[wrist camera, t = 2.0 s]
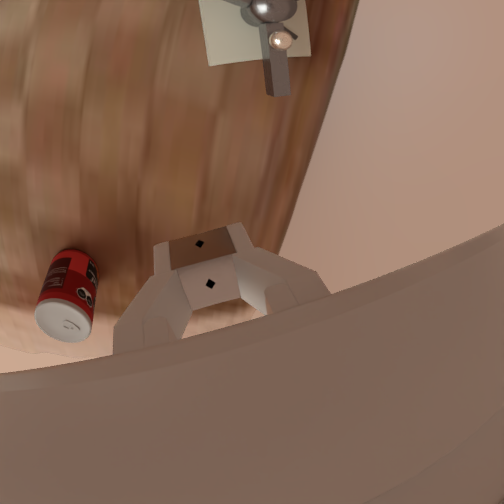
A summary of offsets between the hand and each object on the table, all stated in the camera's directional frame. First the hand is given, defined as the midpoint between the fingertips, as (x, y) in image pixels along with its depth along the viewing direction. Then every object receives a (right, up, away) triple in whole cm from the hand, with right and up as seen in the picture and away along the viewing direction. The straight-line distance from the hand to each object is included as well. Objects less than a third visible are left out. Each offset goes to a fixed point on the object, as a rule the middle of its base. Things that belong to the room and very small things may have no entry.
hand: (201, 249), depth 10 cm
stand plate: (+2, +27, +16) cm, 31 cm away
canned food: (-25, -3, +29) cm, 38 cm away
